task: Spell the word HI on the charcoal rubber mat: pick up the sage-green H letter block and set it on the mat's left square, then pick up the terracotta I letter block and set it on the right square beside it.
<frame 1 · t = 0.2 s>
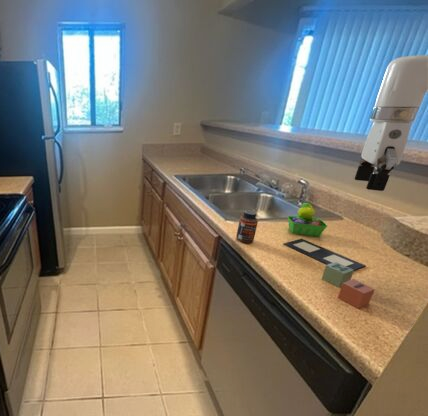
hand: (367, 184, 71), 28 cm above the worktop, tool pointing down, fingers open, 9 cm apart
word mat: (321, 254, 93), on the worktop
block H: (335, 281, 79), on the worktop
supplement bottle: (244, 240, 103), on the worktop
fruit basket: (303, 232, 109), on the worktop
block I: (352, 300, 71), on the worktop
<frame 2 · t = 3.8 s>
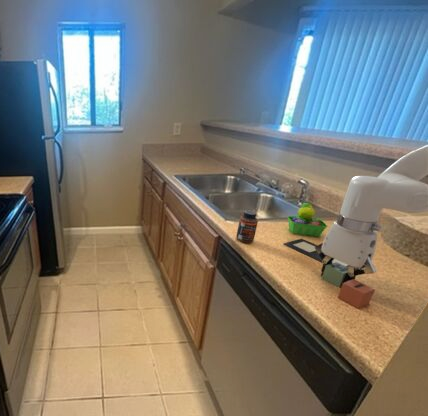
hand: (335, 279, 79), 0 cm above the worktop, tool pointing down, fingers closed on block H, 4 cm apart
block H: (335, 281, 79), on the worktop, touching gripper
everything else where it was.
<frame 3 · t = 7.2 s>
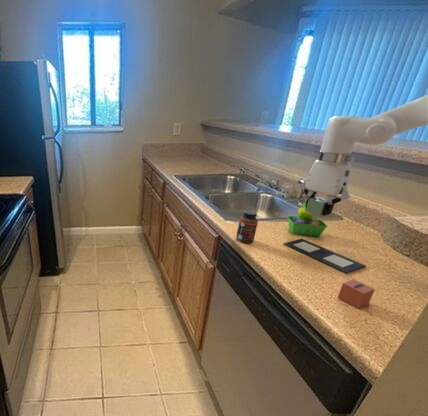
hand: (317, 211, 92), 14 cm above the worktop, tool pointing down, fingers closed on block H, 4 cm apart
block H: (316, 212, 92), point 14 cm above the worktop, touching gripper
everything else where it was.
when the fingers open (1 cm above the worktop, at t = 10.5 s): block H stays where it is, resting on word mat.
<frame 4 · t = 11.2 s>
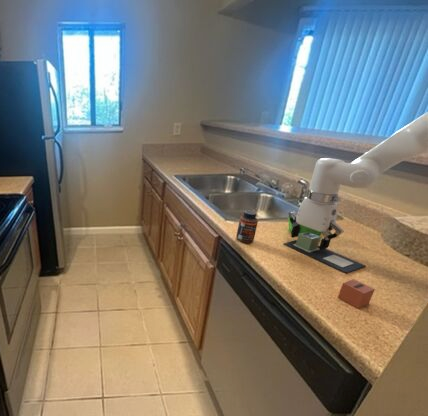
hand: (308, 242, 96), 2 cm above the worktop, tool pointing down, fingers open, 9 cm apart
block H: (306, 246, 97), resting on word mat
everything else where it was.
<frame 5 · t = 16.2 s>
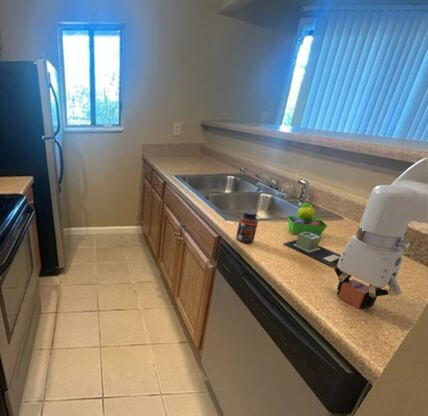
hand: (353, 299, 71), 0 cm above the worktop, tool pointing down, fingers closed on block I, 4 cm apart
block I: (352, 300, 71), on the worktop, touching gripper
everything else where it was.
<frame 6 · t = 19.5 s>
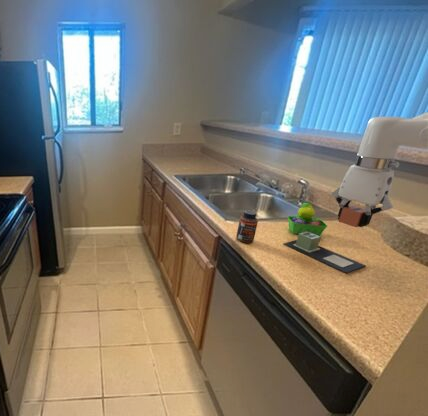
hand: (351, 222, 83), 14 cm above the worktop, tool pointing down, fingers closed on block I, 4 cm apart
block I: (351, 223, 83), point 14 cm above the worktop, touching gripper
everything else where it was.
when the fingers open (1 cm above the worktop, at t = 22.9 s): block I stays where it is, resting on word mat.
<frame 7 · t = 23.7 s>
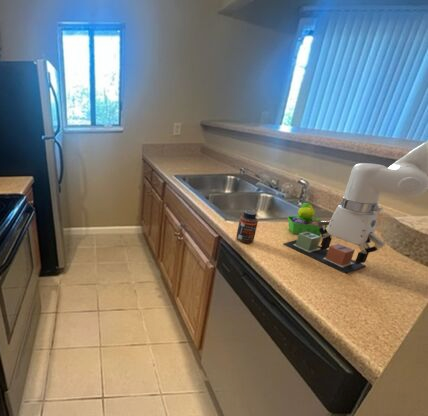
hand: (340, 255, 88), 2 cm above the worktop, tool pointing down, fingers open, 9 cm apart
block I: (337, 260, 88), resting on word mat
everything else where it was.
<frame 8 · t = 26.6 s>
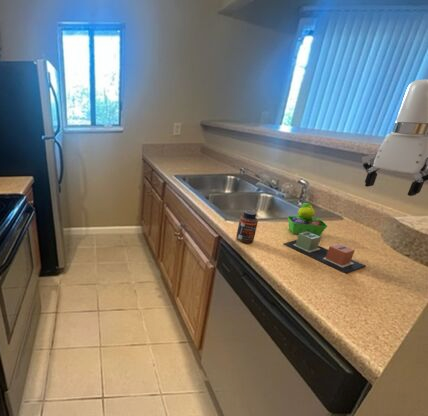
hand: (389, 190, 80), 24 cm above the worktop, tool pointing down, fingers open, 9 cm apart
nothing on the worktop moved.
at the end: block H 0.1 cm from the target spot on the word mat, point 0.5 cm above the word mat's base; block I 0.1 cm from the target spot on the word mat, point 0.5 cm above the word mat's base; block I tilted 0° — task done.
